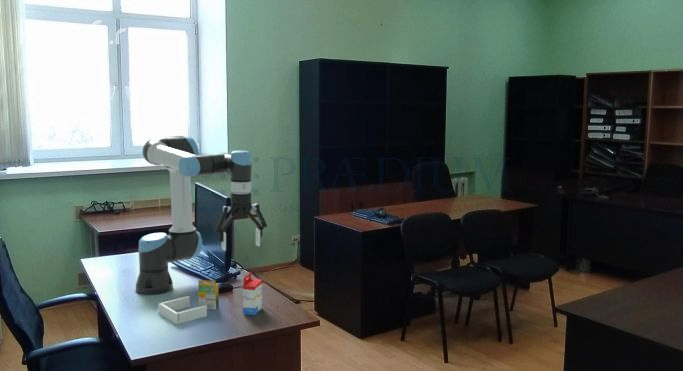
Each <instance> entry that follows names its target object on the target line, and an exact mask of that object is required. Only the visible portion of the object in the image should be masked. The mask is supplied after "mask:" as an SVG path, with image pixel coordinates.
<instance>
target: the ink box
mask: <svg viewBox="0 0 683 371" xmlns="http://www.w3.org/2000/svg"><path fill="white" fill-rule="evenodd" d="M242 281H243V283H242V284H243V285H242V313H243V315H246V316H256V315H257V314H258V313H259V312H260V311H261V310H262V309H263V306H262V304H263V280H262V279H258V278H252V271H250V272H249V273H247V274H246V275H245V276H244V277H243V279H242Z"/></svg>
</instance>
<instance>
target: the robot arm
mask: <svg viewBox="0 0 683 371" xmlns="http://www.w3.org/2000/svg"><path fill="white" fill-rule="evenodd" d="M197 144H198V143H197V142H196V141H195V139H194V138H193V137H191V136H188V135H175V136H172V135H171V136H155V137H152V138H150V139H148V140H147V141H146V142H145V144H144V145H143V146H142V157H143V158H144V160H145V161H146V162H147V163H149V164H151V165H153V166H163V167H164V166H165V168H166V170H167V171H169V183H170V201H171V202H170V203H171V204H170V205H171V224H172V226H171V227H170V228H169V229H168V234H167V233H166V232H153V233H149V234H146V235H143V236H141V238H140V239H139V240H138V250H137V251H138V264H139V274H138V276H137V279H136V282H135V291H136V292H137V293H139V294H142V295H158V294H159V295H160V294H164V293H167V292H169V291H171V290H173V288H174V285H173V284H174V282H173V279H172V276H171V274H170V272H169V263H174V262H178V261H185V260H190V259H194V258H196V257H198V256H199V255H200V254H201V252H202V248H203V237H202V235H201V233H200V232H199V231H197V228H196V227H195V226H194V225H193V210H192V209H193V205H192V203H193V202H192V182H191V181H192V177H200V176H201V177H202V176H211V175H222V174H225V175H230V192H231V193H230V206H227V205H223V206H222V209H221V213H220V215H219V218H218V220H217V222H216V224H215V225H214V228H213V230H214V232H216V233H218V240H219V242H220V243H221V250H222V251H224V252H225V251H227V233H226V230H228V228H229V227H230V225H231V224H232V222H233V221H234V220H235V219H236V218H239V219H240V218H246V217H248V219H250V221H252V223H253V224H254V225H255V226H256V227H257V228H255V242H254V243H255V246H256V247H260V246H261V238H262V237H263V230H264V228H267V227H268V224H267V222H266V220H265V218H264V215H263V213H262V212H261V210H260V209H261V208H260V204H258V203H252V193H251V191H252V168H253V167H252V166H253V165H252V164H253V163H252V153H251V151H249V150H242V149H241V150H239V149H238V150H232V151H231V152H230V153H227V152H217V153H216V154H215V153H213V154H201V155H200V154H199V153H200V152H199V147H198V145H197ZM252 210H254V212H255V214H256V216H257V218H258V220H259V221H258V220H257V219H256V217H255V216H254V214H253V213H252V212H251V211H252ZM230 211H231V213H230V214H229V216H228V213H229V212H230ZM227 216H228V217H227Z"/></svg>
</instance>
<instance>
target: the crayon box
mask: <svg viewBox="0 0 683 371" xmlns="http://www.w3.org/2000/svg"><path fill="white" fill-rule="evenodd" d="M197 283H198V286H197V287H198V307H201V306H205V305H206V306H207V310H214V311H215V310H217V309H218V308H220V303H219V301H220V300H219V298H220V297H219V295H220V294H219V283H217V281H215V280H207V279H205V280H204V279H198V282H197Z"/></svg>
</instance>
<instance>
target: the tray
mask: <svg viewBox="0 0 683 371" xmlns="http://www.w3.org/2000/svg"><path fill="white" fill-rule="evenodd" d="M157 305H158V315H161V316H162V317H164V318H166V319H167V320H169V321H170V322H172V323H173V324H175V325H180V324H184V323H186V322H187V321H188V322H190V321H191V322H192V321H194V320H198V319H202V318H206V317H207V316H208V309H207V306H206V305H205V306H201V307H199V306H198V307H193V308H189V307H190V296H189V295H187V296H182V297H179V298H174V299H170V300H167V301H163V302H159V303H158V304H157ZM185 308H189V309H187V310H183V311H179V312H177V310H182V309H185Z"/></svg>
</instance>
